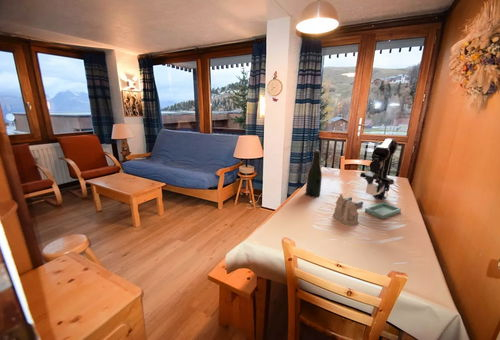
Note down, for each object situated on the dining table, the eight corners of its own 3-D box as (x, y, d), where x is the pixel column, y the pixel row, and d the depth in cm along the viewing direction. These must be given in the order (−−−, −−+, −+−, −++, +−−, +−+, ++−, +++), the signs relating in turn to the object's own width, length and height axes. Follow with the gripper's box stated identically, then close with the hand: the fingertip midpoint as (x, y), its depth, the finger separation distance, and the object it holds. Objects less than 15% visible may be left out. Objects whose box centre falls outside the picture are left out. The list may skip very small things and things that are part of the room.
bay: (350, 200, 153) (351, 196, 152) (362, 205, 146) (362, 201, 145) (343, 202, 150) (344, 198, 149) (355, 208, 142) (356, 203, 141)
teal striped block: (378, 189, 146) (379, 181, 144) (385, 192, 142) (387, 183, 140) (365, 192, 140) (367, 183, 139) (373, 195, 136) (374, 186, 134)
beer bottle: (302, 192, 166) (306, 149, 156) (313, 190, 170) (318, 148, 160) (311, 198, 156) (316, 152, 147) (323, 195, 160) (328, 151, 151)
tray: (382, 205, 147) (383, 202, 146) (400, 212, 137) (401, 208, 137) (364, 211, 138) (365, 207, 137) (382, 219, 128) (382, 215, 128)
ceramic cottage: (346, 227, 120) (351, 201, 116) (327, 214, 135) (331, 190, 131) (369, 224, 124) (374, 199, 121) (348, 212, 140) (352, 189, 136)
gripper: (356, 164, 140) (352, 187, 144) (385, 172, 124) (379, 198, 128) (367, 163, 144) (363, 185, 149) (396, 170, 129) (391, 195, 133)
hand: (373, 190), depth 139 cm, fingers closed on teal striped block, 5 cm apart
